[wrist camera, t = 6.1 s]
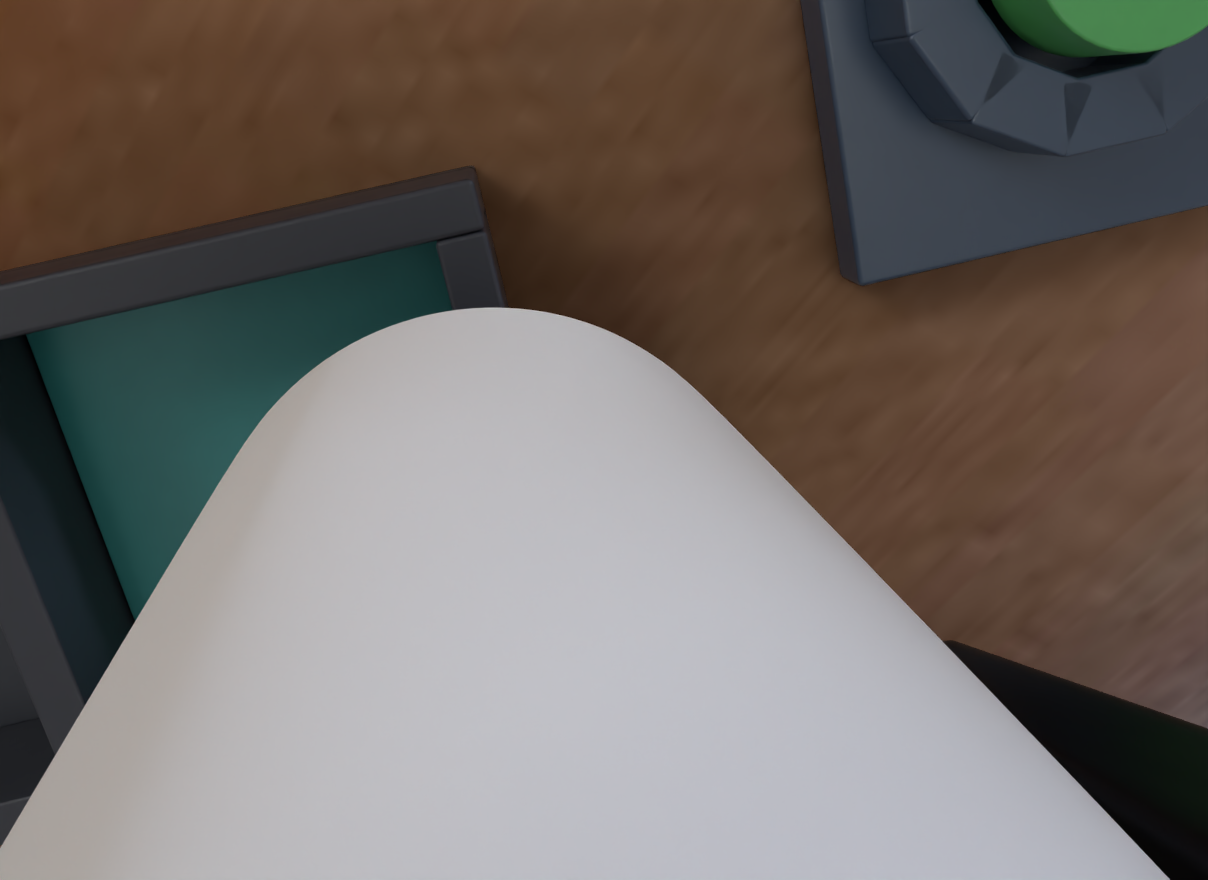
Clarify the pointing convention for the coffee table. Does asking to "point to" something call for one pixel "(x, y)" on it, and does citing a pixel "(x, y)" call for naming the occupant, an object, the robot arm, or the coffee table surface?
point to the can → (536, 656)
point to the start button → (1103, 24)
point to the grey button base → (991, 134)
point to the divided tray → (177, 407)
